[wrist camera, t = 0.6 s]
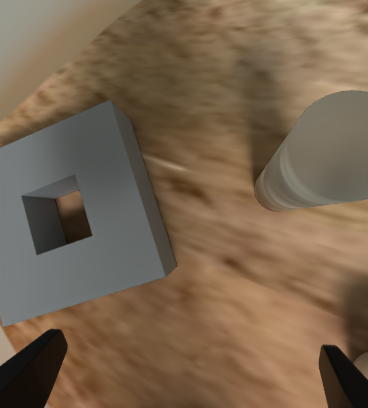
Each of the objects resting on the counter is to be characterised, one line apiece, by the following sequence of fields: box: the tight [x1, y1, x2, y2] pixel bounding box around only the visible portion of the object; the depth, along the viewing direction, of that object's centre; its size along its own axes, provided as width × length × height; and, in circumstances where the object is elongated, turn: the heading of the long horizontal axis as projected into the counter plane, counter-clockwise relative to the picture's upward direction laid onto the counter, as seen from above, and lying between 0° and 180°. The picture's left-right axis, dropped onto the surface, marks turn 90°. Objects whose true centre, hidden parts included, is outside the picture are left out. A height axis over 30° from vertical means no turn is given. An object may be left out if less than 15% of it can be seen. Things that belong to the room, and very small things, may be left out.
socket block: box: [0, 100, 177, 327], centre depth 22 cm, size 14×14×4 cm
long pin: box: [255, 90, 368, 211], centre depth 15 cm, size 4×4×13 cm
